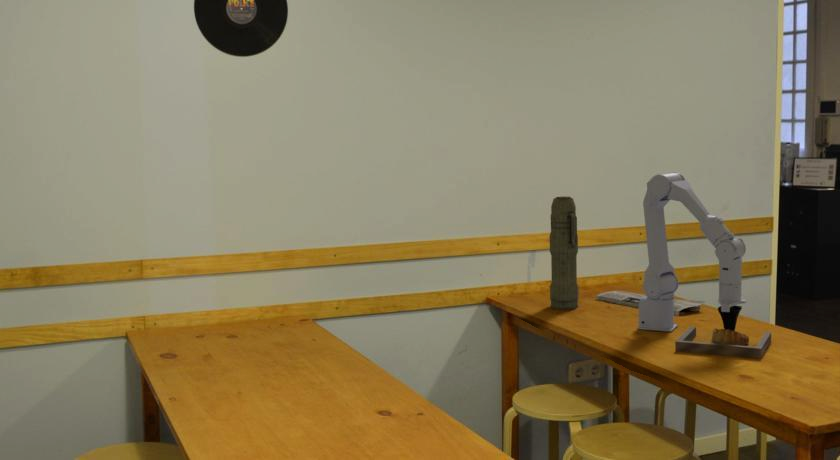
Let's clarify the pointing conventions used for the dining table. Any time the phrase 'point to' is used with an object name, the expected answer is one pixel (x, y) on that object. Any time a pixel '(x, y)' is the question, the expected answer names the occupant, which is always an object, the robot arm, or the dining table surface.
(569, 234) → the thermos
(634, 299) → the newspaper
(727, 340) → the pastry
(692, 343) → the grey u-shaped frame
